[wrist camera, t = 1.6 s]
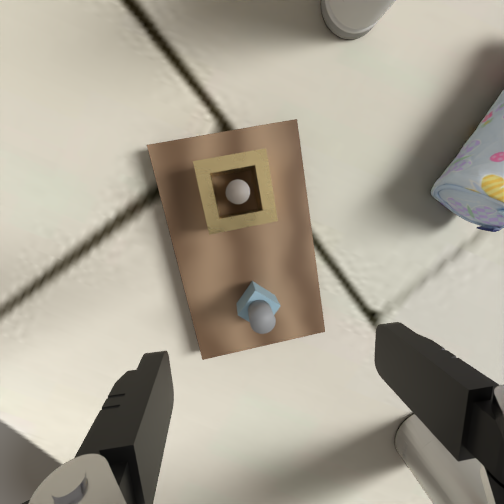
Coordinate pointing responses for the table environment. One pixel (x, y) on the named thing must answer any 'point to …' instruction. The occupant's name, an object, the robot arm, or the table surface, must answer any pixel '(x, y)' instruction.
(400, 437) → the robot arm
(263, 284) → the workboard
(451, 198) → the pencil case
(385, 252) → the table surface
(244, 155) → the collar
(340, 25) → the travel mug
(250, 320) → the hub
